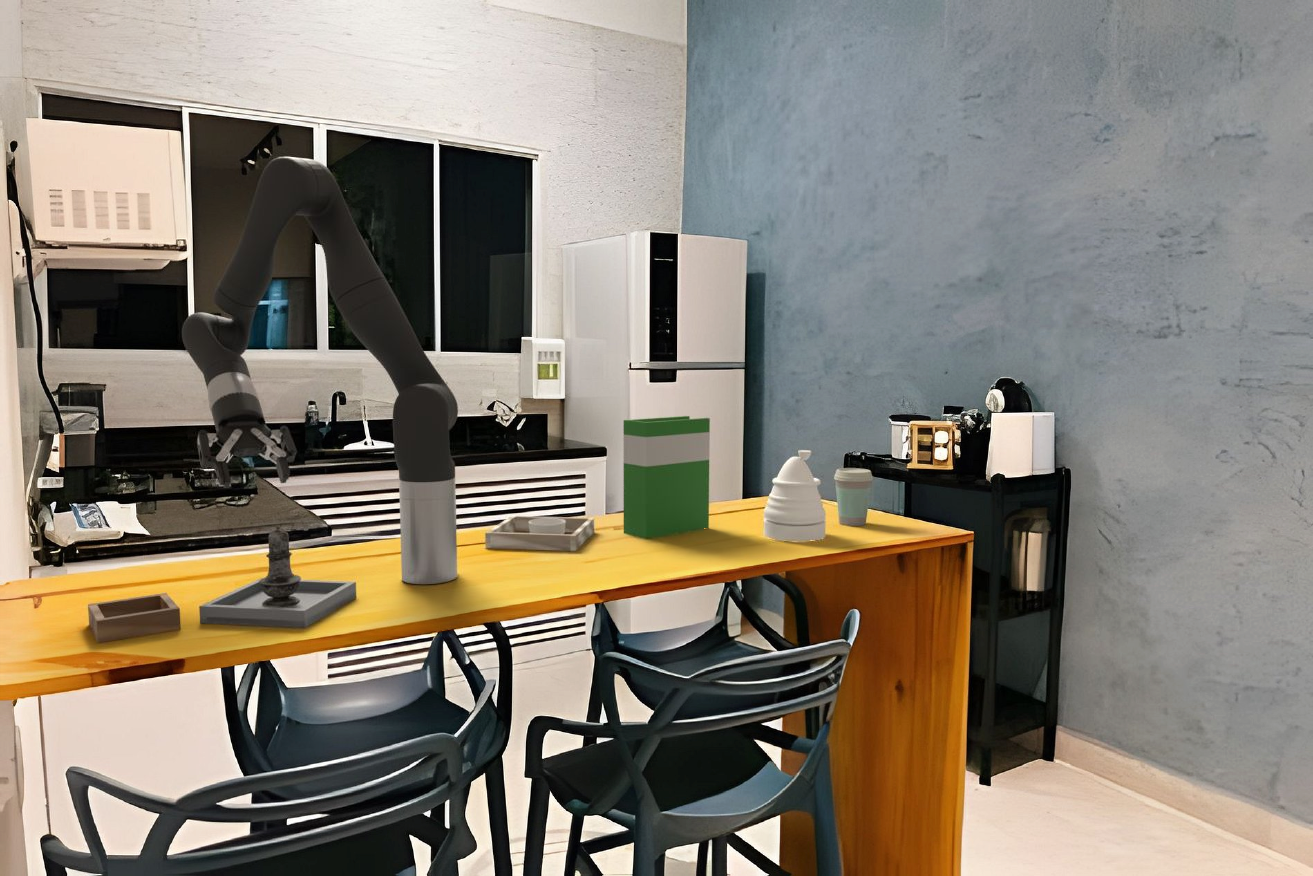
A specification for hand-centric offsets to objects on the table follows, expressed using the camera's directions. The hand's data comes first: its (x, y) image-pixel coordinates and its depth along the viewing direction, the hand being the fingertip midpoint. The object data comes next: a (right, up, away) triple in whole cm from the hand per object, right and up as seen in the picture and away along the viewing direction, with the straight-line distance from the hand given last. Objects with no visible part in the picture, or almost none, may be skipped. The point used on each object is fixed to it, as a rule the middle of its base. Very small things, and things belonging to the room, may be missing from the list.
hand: (256, 482), depth 148 cm
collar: (-11, -20, -16) cm, 27 cm away
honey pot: (+92, -14, +48) cm, 105 cm away
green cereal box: (+65, -13, +52) cm, 85 cm away
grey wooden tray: (+40, -14, +43) cm, 60 cm away
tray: (+7, -19, -7) cm, 21 cm away
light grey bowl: (+41, -15, +39) cm, 59 cm away
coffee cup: (+107, -12, +61) cm, 124 cm away
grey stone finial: (+7, -18, -7) cm, 20 cm away
